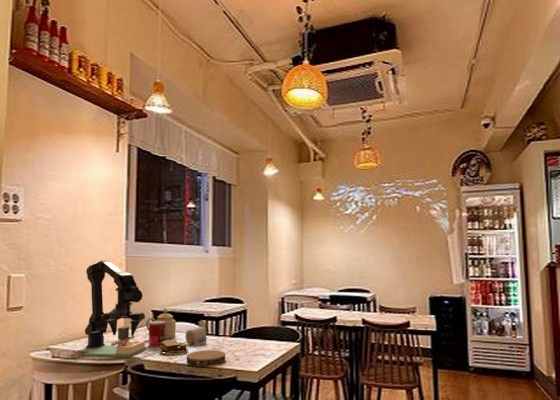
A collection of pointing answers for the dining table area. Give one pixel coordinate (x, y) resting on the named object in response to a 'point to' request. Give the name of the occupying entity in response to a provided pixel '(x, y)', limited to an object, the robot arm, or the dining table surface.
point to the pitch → (118, 350)
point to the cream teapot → (166, 324)
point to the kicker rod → (123, 336)
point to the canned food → (156, 333)
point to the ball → (130, 343)
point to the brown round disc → (206, 358)
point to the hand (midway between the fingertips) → (123, 335)
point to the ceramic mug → (196, 336)
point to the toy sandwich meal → (172, 347)
